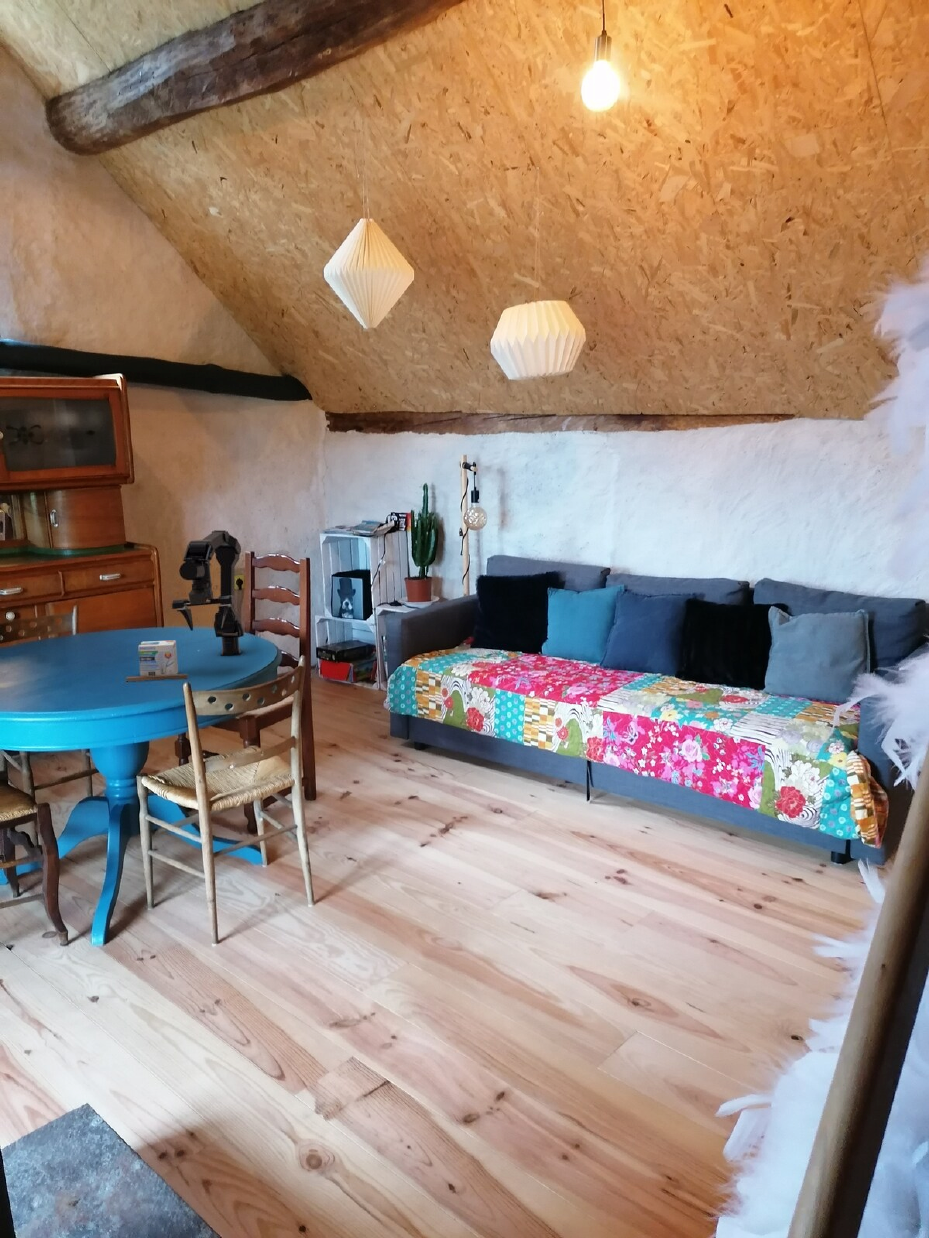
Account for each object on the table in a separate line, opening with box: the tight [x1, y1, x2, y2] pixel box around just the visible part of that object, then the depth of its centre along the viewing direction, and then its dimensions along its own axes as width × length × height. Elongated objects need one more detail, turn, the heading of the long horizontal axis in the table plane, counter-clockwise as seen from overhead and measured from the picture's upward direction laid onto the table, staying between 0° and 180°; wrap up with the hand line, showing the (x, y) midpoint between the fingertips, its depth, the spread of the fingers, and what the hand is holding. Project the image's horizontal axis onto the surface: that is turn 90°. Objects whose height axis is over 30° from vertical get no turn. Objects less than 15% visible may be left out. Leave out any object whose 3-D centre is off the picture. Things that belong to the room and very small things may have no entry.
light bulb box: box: [137, 639, 179, 676], centre depth 263 cm, size 11×7×11 cm, turn 101°
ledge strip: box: [125, 673, 189, 682], centre depth 259 cm, size 2×18×1 cm, turn 101°
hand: (206, 629), depth 263 cm, fingers open, 9 cm apart
